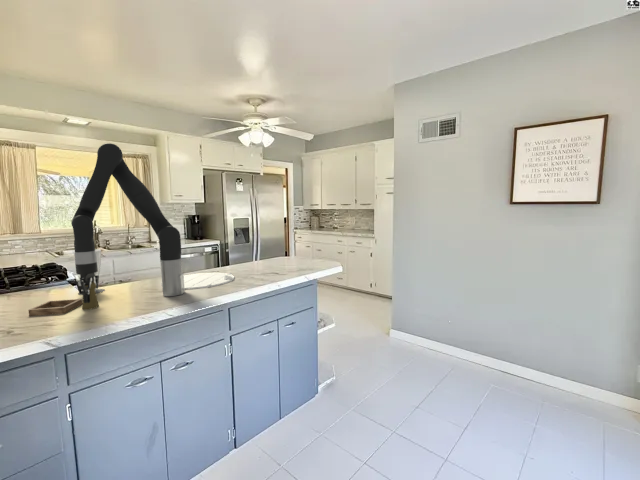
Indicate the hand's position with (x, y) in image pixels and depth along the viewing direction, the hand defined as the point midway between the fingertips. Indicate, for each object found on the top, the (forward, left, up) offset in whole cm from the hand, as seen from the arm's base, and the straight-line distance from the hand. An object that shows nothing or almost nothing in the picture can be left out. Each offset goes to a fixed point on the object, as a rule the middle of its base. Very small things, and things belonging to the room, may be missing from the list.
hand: (90, 301), depth 141 cm
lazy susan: (-37, -42, -3) cm, 56 cm away
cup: (+14, -30, -3) cm, 33 cm away
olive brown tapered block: (0, 0, -3) cm, 3 cm away
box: (+13, 0, -3) cm, 13 cm away
